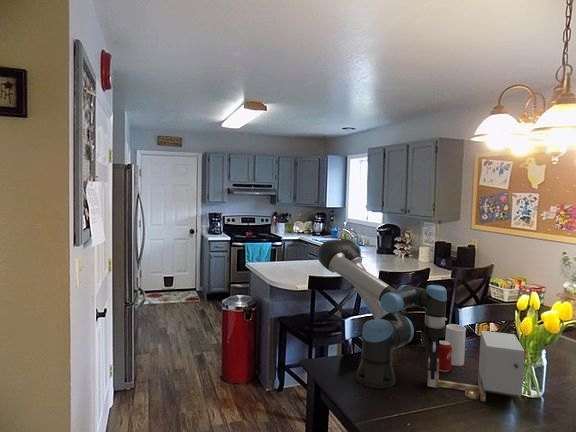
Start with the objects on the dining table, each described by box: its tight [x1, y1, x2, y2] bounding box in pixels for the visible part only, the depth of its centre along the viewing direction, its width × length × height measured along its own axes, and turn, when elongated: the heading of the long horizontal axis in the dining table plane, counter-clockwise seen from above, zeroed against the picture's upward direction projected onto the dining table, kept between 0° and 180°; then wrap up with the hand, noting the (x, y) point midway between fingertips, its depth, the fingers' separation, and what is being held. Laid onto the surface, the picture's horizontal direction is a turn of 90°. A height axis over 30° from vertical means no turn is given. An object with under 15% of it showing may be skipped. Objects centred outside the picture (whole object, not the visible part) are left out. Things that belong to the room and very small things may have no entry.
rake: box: [426, 356, 487, 402], centre depth 160 cm, size 20×10×10 cm, turn 72°
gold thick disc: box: [464, 388, 480, 401], centre depth 157 cm, size 5×5×2 cm
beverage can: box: [437, 340, 452, 373], centre depth 179 cm, size 6×6×12 cm
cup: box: [444, 323, 467, 367], centre depth 188 cm, size 8×8×16 cm
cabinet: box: [477, 330, 525, 397], centre depth 156 cm, size 12×19×22 cm, turn 161°
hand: (431, 383), depth 165 cm, fingers closed on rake, 4 cm apart
